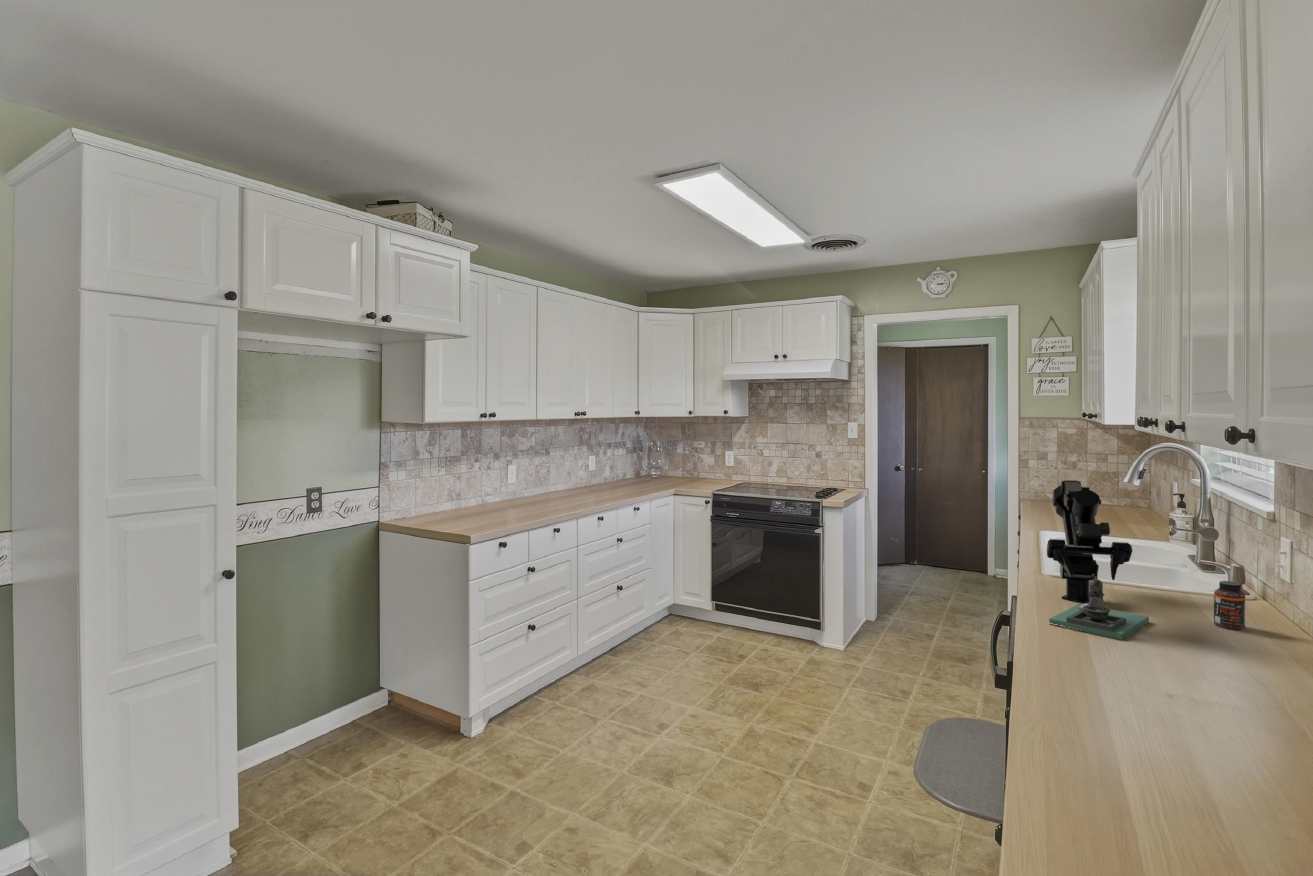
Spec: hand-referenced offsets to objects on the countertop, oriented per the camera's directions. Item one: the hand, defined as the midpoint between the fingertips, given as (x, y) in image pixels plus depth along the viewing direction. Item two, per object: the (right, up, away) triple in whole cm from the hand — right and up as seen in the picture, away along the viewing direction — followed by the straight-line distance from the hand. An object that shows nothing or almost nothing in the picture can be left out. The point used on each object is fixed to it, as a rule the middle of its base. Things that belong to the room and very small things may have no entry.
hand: (1092, 577), depth 168 cm
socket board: (+2, -12, 0) cm, 12 cm away
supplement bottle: (+31, -11, -5) cm, 33 cm away
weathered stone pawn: (-1, -11, -4) cm, 11 cm away
